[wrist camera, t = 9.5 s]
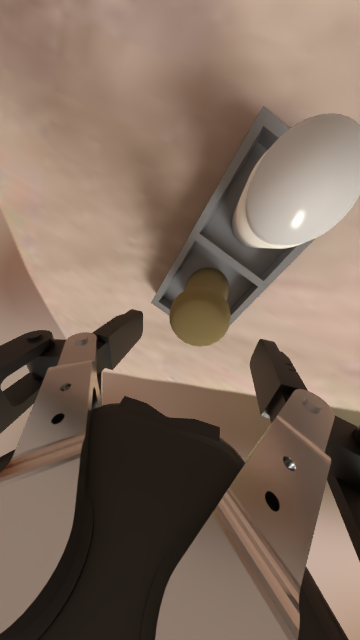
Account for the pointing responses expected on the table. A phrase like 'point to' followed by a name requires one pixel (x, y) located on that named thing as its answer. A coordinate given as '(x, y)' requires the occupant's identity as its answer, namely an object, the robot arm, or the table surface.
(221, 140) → the table surface
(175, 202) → the table surface
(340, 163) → the salt shaker
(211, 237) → the caddy
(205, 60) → the table surface
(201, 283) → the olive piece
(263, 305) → the table surface
